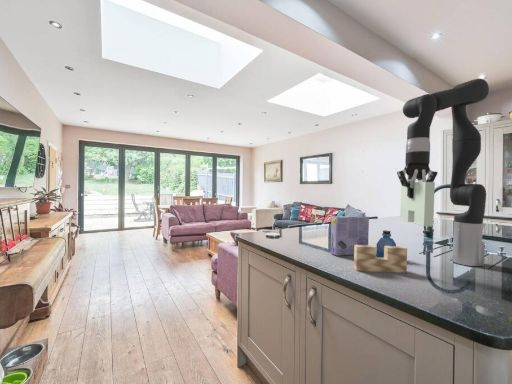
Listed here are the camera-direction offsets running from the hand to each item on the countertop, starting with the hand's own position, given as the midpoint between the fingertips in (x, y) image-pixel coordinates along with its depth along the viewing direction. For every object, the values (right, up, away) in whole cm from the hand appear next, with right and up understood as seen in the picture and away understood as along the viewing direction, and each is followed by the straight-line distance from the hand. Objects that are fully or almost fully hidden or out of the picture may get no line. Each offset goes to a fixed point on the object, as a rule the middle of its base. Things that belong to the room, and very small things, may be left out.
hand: (415, 198), depth 93 cm
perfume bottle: (-1, -27, +19) cm, 33 cm away
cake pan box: (-15, -27, +25) cm, 40 cm away
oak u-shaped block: (-13, -27, +2) cm, 30 cm away
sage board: (0, -9, 0) cm, 9 cm away
